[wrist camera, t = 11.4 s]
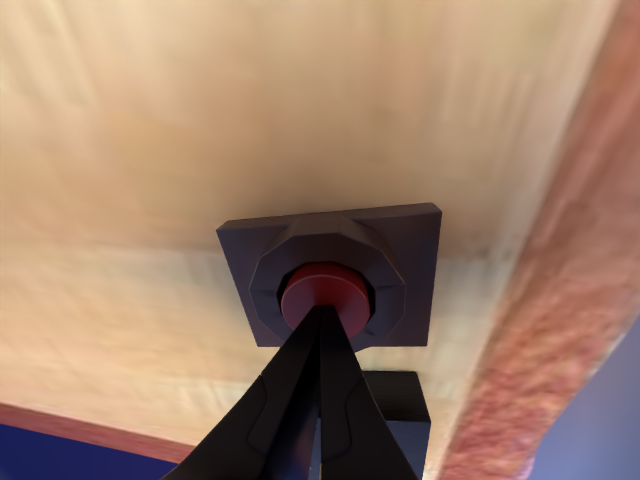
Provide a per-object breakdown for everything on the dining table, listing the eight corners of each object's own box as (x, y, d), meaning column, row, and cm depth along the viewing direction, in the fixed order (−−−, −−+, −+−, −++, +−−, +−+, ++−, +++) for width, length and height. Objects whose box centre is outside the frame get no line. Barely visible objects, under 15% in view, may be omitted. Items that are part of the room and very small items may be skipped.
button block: (433, 196, 10) (464, 222, 7) (420, 329, 14) (439, 378, 11) (225, 215, 12) (189, 243, 9) (263, 331, 15) (246, 375, 13)
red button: (364, 249, 10) (368, 273, 8) (367, 312, 11) (371, 343, 10) (283, 254, 10) (271, 278, 9) (296, 314, 12) (289, 343, 10)
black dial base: (417, 372, 15) (432, 426, 13) (409, 449, 20) (420, 501, 17) (276, 369, 17) (262, 418, 14) (300, 442, 22) (293, 489, 19)
